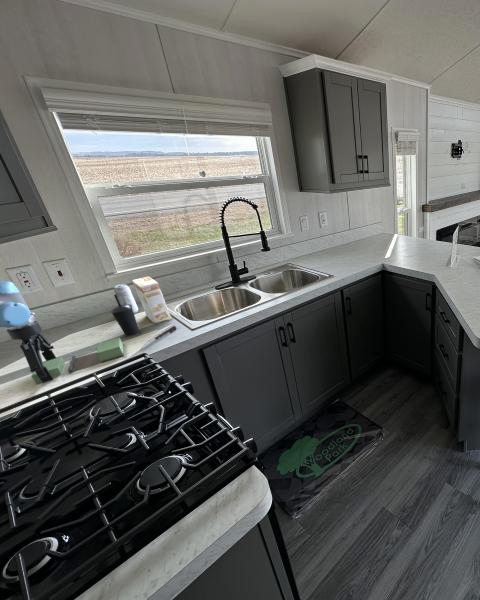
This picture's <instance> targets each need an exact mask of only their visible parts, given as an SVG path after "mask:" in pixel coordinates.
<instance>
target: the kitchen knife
mask: <svg viewBox="0 0 480 600" xmlns="http://www.w3.org/2000/svg"><path fill="white" fill-rule="evenodd" d="M175 330H177V327H176V325H173V326H171V327H170V328H168V329H166V330H165V331H163V332H162V333H161V334H159V335H157V336H156V337H155V338H152V340H150V341H149V342H147V343H145V344H144V345H143V346H142V347H141V349H144V348H145V347H147V346H148V345H150V344H151V343H152V342H154V341H156V340H158V339H160V338H162V337H163V336H165V335H166V334H168V333H169V334H170V333H172V332H174V331H175Z"/></svg>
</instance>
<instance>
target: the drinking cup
mask: <svg viewBox="0 0 480 600" xmlns="http://www.w3.org/2000/svg"><path fill="white" fill-rule="evenodd" d="M113 297H114V298H115V301H116V303H117V305H116V306H114V307H112V308H111V309H110V310H109V313H111V314H112V316H113V317H114V319H115V321H116V322H117V324H118V326H119V328H120V329H121V330H122V332H123V334H124V335H125V336H126V337H131V336H134V335H137V334H139V333H140V328H139V326H138V323H137V322H138V321H137V319H136V316H135V313H134V312H133V309H132V305H130V304H123V305H120V302H119V300H118V298H117V296H116V294H114V295H113Z"/></svg>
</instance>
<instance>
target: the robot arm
mask: <svg viewBox="0 0 480 600" xmlns="http://www.w3.org/2000/svg"><path fill="white" fill-rule="evenodd" d="M35 315H36V313H35V312H32V311H31V309H30V308H29V306H28V304H27V302H26V300H25V299H24V297H23V295H22V293H21V291H20V289H18V287H17V286H16V285H15V284H14V282H12V281H8V280H2V281H0V328H3V329H6V332H7V334H8V336H9V337H10V338H11V340H14V341H15V340H16V341H17V340H20V341H21V344H20V345H19V347H20V349H21V350H22V352H23V355H24V357H25V359H26V362H27V365H28V367H29V369H30V370H29V372H30V373H32V372H36V374H37V375H38V377H39V378H40V380H41V381H42V382H41V383H42V384H45V383H48V382H50V381H53V380H54V377H52V376H51V374H50V373H49V371H48V370H47V368H46V366H45V367H44V365H43V362H44V361H43V359H42V357H43V358H44V360H45V361H49V360H52V359H56V358H57V356H56V354H55V353H54V352H53V349H55V347H54V345H52V343H50V341H49V340H48V339H47V338H46V337H45V336H44V335H43V334H42V333H41V331H42V327H41V325H40V324H39V322H38V321H37V320H36V317H35ZM40 352H41V353H40Z"/></svg>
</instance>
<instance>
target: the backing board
mask: <svg viewBox="0 0 480 600" xmlns="http://www.w3.org/2000/svg"><path fill="white" fill-rule="evenodd" d="M122 344H123V355H122V356H118V357H115V358H112V359H109V360H105V361H102V362H101V361H100V359H99V357H98V355H97V351H95V352H92V353H88V354H85V355H81V356H78V357H77V356H76V355H75V354H74V355H72V356H71V358H70V359H71V360H70V363H69V367H68V372H69V374H72V373H76V372H79V371H82V370H85V369H88V368H93V367H95V366H98V365H102V364H105V363H109V362H111V361H115V360H117V359H121V358H124V357H125V343H122Z"/></svg>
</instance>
